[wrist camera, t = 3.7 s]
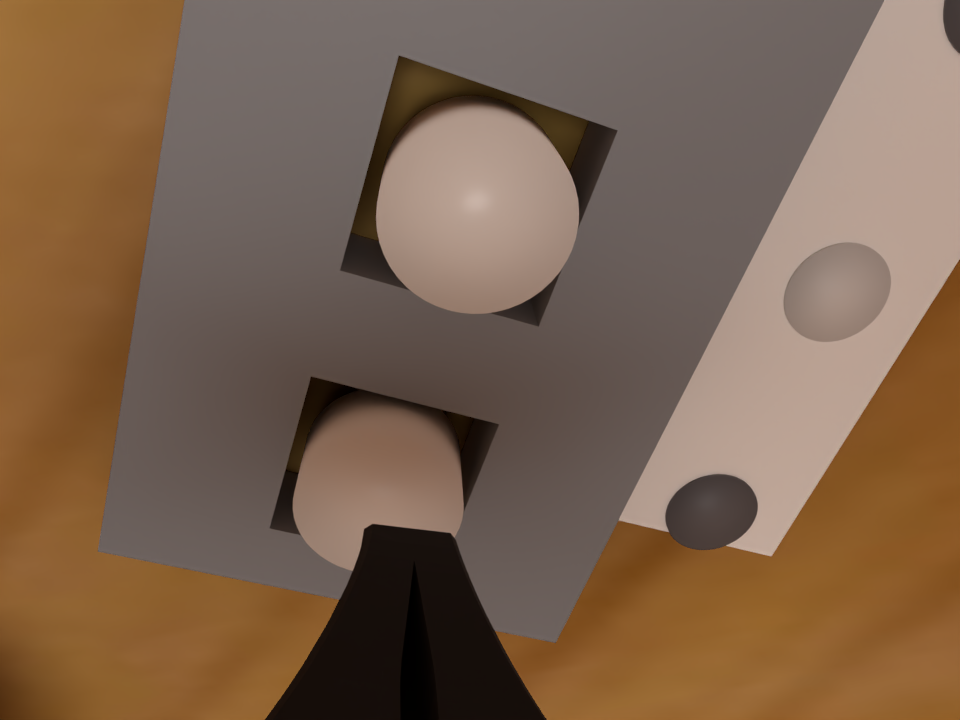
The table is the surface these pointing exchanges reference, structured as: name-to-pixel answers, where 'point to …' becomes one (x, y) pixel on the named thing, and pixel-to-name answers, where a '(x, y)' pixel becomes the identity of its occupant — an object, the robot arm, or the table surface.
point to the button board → (419, 324)
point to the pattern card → (821, 295)
